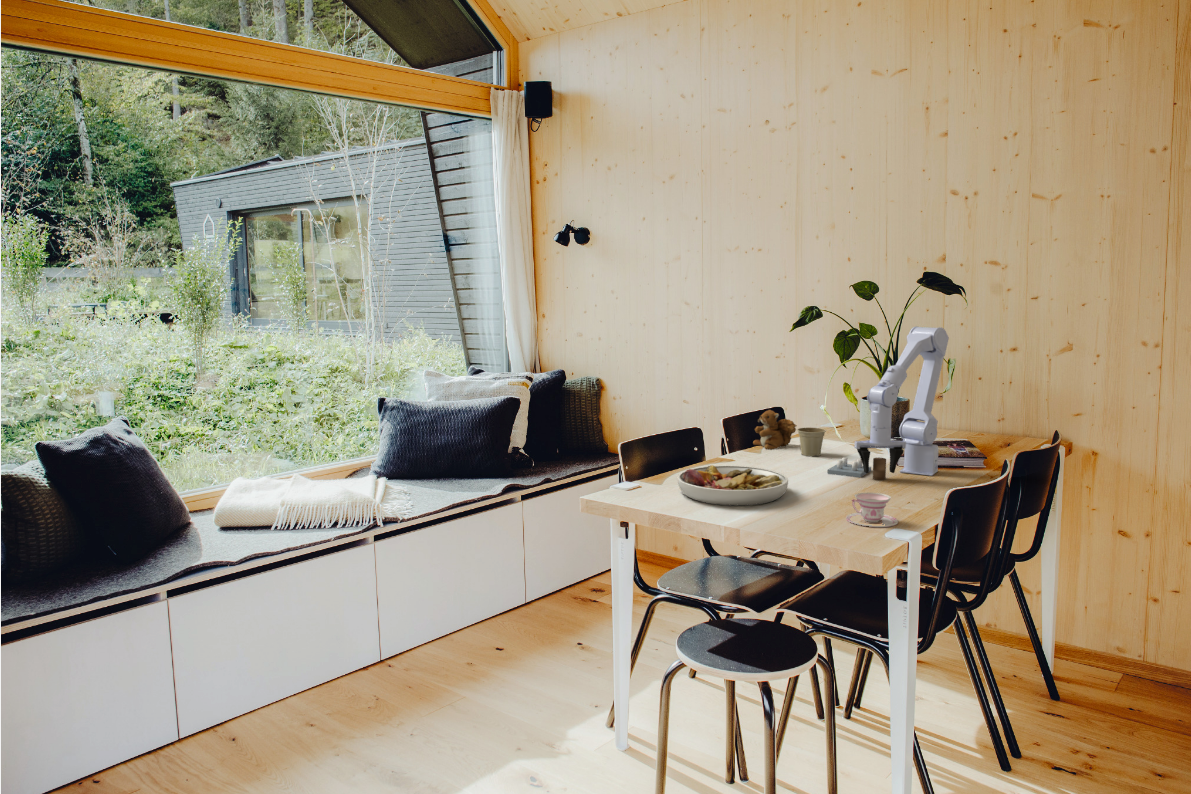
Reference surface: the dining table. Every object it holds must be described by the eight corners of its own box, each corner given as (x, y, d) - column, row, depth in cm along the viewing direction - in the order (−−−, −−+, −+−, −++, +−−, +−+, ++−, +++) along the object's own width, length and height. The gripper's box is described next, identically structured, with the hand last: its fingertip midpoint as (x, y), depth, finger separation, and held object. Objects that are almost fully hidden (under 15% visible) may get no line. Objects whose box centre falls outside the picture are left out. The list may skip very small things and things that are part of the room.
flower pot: (826, 458, 273) (827, 432, 271) (797, 457, 274) (798, 431, 273) (823, 452, 282) (824, 427, 281) (795, 451, 283) (796, 427, 282)
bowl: (750, 478, 247) (750, 452, 246) (810, 502, 219) (811, 473, 218) (659, 488, 236) (659, 461, 235) (710, 514, 208) (711, 483, 207)
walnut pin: (886, 478, 243) (887, 458, 243) (883, 480, 240) (884, 460, 240) (874, 476, 245) (875, 457, 245) (871, 479, 242) (871, 459, 242)
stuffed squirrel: (750, 444, 297) (751, 408, 295) (787, 443, 300) (788, 407, 298) (761, 450, 287) (761, 412, 286) (799, 448, 290) (799, 411, 288)
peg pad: (871, 470, 253) (871, 458, 253) (860, 477, 244) (860, 465, 244) (839, 466, 259) (839, 455, 259) (827, 473, 250) (827, 461, 250)
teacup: (887, 514, 206) (888, 490, 205) (906, 528, 194) (907, 502, 193) (839, 515, 206) (840, 490, 205) (855, 529, 194) (856, 503, 193)
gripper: (900, 424, 245) (898, 469, 247) (851, 424, 245) (850, 469, 246) (909, 428, 238) (907, 474, 240) (859, 428, 238) (857, 474, 240)
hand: (879, 472), depth 243 cm, fingers open, 7 cm apart
